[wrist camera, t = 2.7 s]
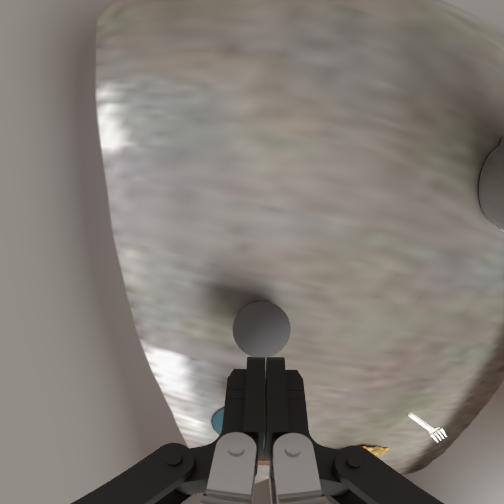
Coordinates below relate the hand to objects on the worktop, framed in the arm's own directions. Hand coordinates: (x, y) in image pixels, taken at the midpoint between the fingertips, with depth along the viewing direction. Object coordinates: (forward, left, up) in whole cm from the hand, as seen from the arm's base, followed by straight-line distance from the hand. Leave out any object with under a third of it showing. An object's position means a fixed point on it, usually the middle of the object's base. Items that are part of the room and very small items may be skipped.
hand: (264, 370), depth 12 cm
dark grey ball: (+9, +3, -14) cm, 17 cm away
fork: (+29, +42, -17) cm, 54 cm away
